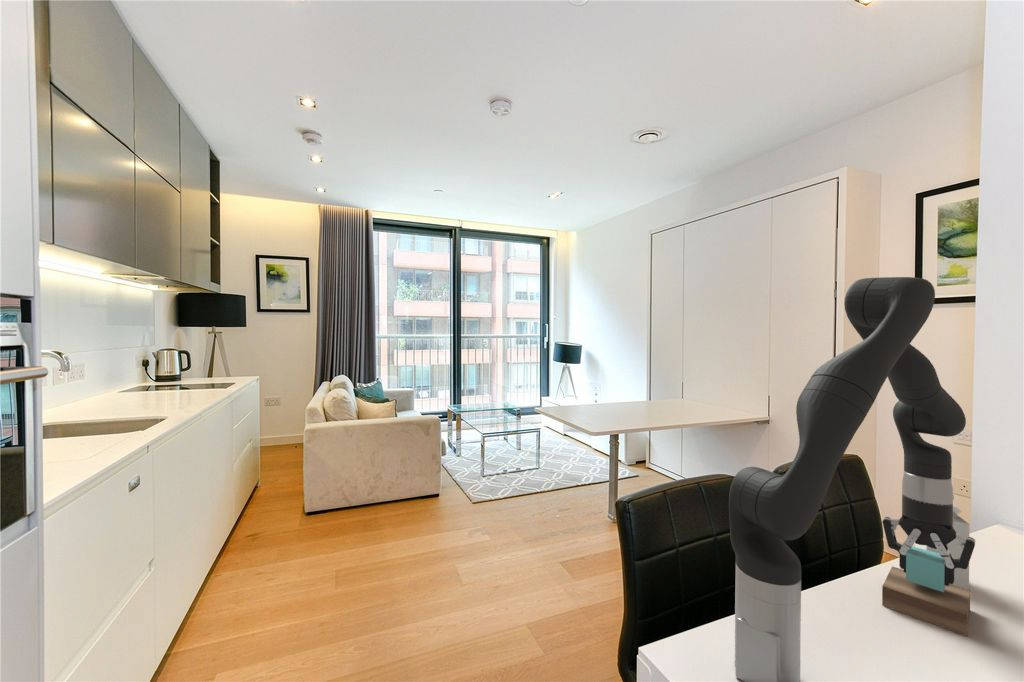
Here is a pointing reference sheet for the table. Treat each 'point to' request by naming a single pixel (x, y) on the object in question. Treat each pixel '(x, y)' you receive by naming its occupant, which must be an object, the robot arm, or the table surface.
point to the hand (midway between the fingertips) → (926, 577)
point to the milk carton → (956, 549)
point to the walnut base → (927, 601)
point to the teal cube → (925, 568)
